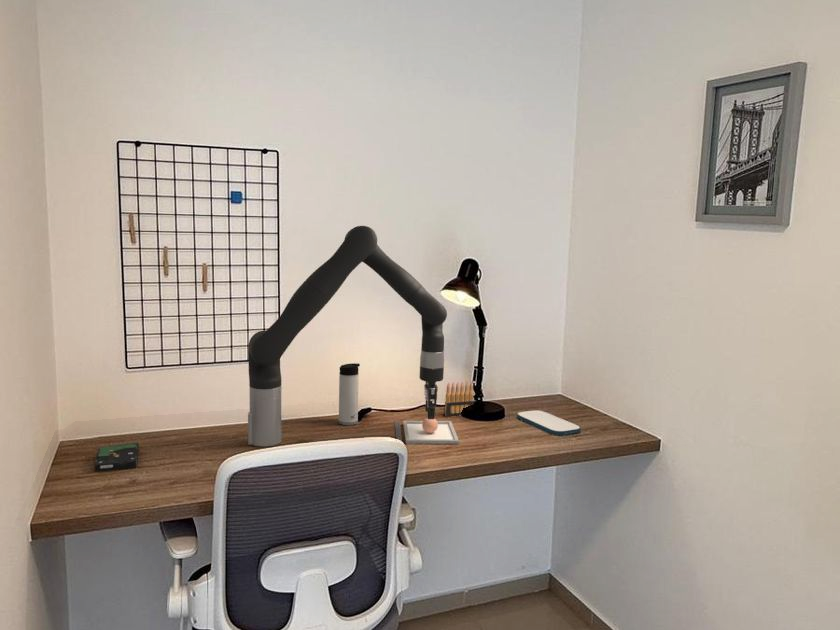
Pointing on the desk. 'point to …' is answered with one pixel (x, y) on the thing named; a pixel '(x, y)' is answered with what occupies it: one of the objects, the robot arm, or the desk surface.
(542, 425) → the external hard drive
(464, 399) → the ammunition clip
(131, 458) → the disk drive
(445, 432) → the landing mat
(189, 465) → the desk surface
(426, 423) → the rubber ball
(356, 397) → the travel mug
